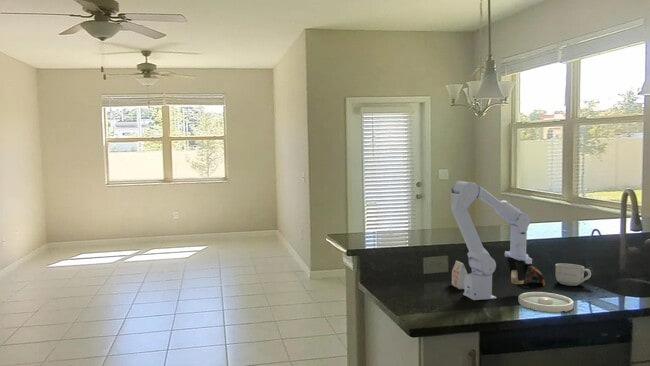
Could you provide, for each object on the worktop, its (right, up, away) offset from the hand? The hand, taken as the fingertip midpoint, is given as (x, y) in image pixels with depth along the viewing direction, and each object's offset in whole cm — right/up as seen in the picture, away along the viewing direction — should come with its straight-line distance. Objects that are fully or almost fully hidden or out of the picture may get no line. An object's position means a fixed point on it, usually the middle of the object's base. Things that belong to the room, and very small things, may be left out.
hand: (517, 278), depth 198 cm
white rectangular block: (-19, -6, +12) cm, 23 cm away
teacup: (+28, -5, +14) cm, 31 cm away
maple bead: (0, -2, 0) cm, 2 cm away
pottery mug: (+12, -5, +16) cm, 21 cm away
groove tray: (+5, -7, -13) cm, 15 cm away
